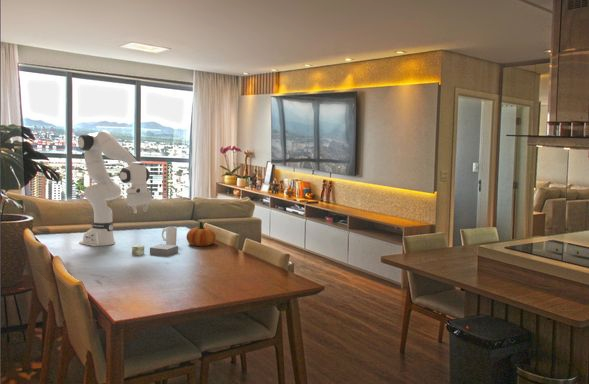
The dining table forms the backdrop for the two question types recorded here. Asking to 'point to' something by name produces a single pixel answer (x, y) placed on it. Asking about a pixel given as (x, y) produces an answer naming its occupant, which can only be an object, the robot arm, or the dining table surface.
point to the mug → (170, 235)
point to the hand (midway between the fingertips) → (140, 212)
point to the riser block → (163, 249)
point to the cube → (137, 250)
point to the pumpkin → (201, 236)
